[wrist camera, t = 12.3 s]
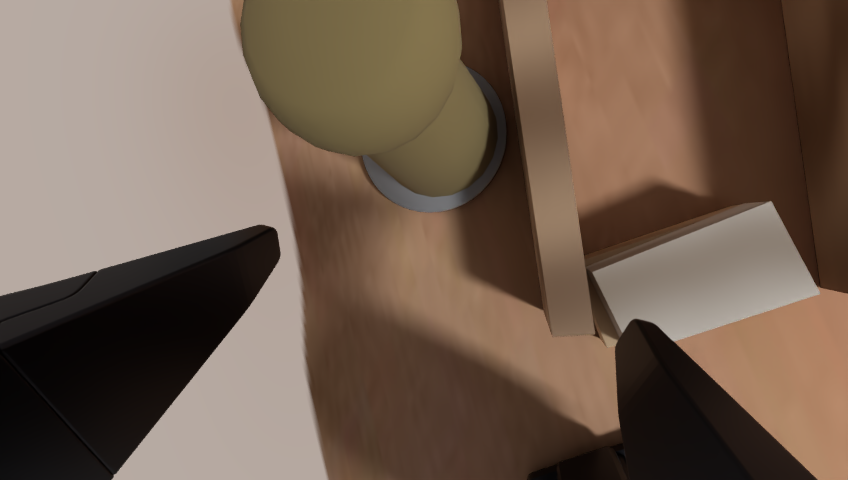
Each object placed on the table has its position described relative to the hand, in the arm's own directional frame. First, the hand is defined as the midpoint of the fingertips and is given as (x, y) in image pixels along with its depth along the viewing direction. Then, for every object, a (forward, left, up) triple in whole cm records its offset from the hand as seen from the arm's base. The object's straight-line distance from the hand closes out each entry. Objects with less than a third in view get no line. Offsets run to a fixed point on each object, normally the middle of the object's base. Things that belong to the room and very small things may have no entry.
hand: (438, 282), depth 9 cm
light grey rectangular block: (-5, -7, -10) cm, 13 cm away
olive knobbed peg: (+6, -1, -9) cm, 11 cm away
